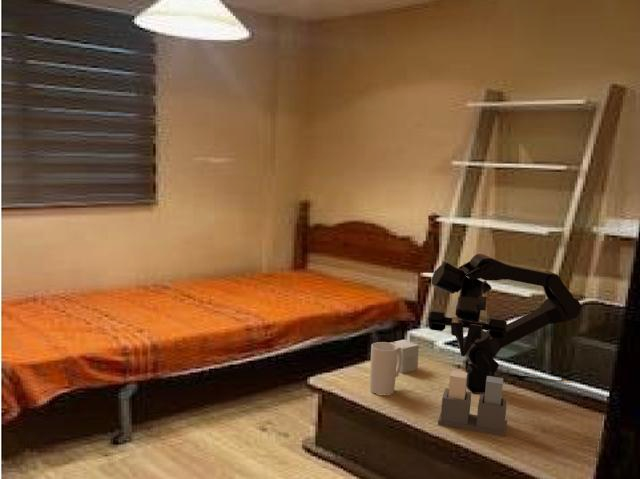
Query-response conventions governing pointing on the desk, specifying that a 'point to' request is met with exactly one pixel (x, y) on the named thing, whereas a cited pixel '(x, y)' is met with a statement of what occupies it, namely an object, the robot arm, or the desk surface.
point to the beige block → (457, 385)
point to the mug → (384, 367)
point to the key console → (484, 421)
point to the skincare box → (408, 355)
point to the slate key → (493, 390)
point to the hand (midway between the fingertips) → (462, 355)
